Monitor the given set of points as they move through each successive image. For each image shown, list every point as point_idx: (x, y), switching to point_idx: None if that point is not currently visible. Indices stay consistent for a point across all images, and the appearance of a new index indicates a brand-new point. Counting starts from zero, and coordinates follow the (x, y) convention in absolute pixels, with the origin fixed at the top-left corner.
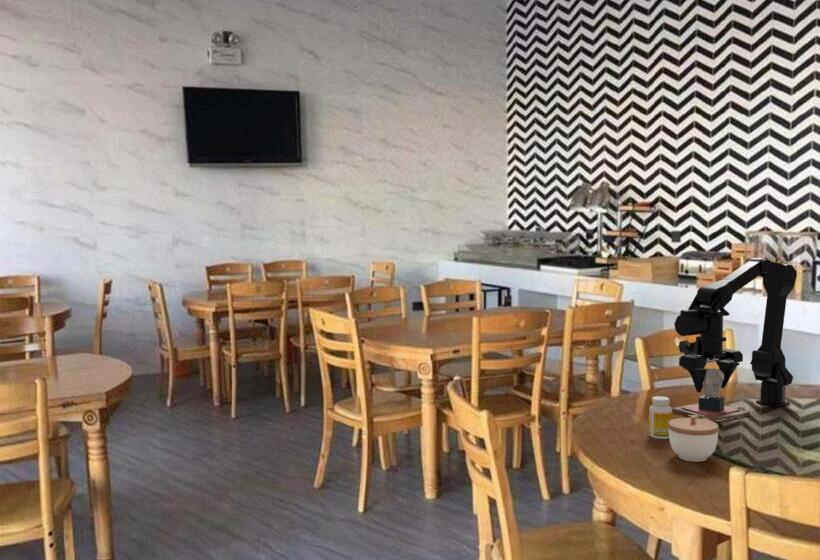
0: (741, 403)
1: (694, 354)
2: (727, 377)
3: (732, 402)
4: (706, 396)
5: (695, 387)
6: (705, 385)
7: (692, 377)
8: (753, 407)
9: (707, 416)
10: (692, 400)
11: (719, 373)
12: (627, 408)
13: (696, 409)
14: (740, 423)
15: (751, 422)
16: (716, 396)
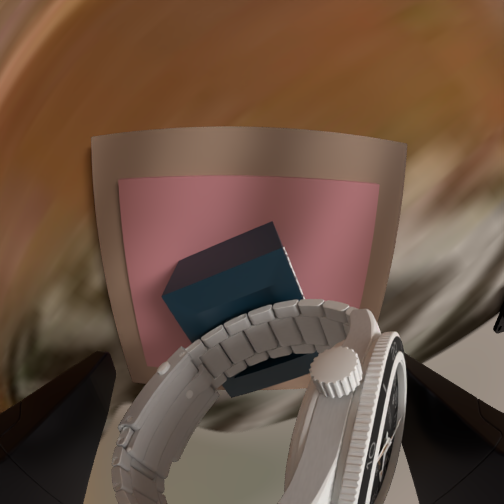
0: (495, 231)
1: None
2: (408, 459)
3: (492, 197)
4: (202, 339)
5: (73, 367)
6: (130, 436)
7: (5, 421)
8: (469, 297)
9: (139, 349)
10: (403, 38)
11: None
12: (17, 18)
13: (159, 262)
14: (225, 412)
15: (269, 419)
16: (284, 353)
